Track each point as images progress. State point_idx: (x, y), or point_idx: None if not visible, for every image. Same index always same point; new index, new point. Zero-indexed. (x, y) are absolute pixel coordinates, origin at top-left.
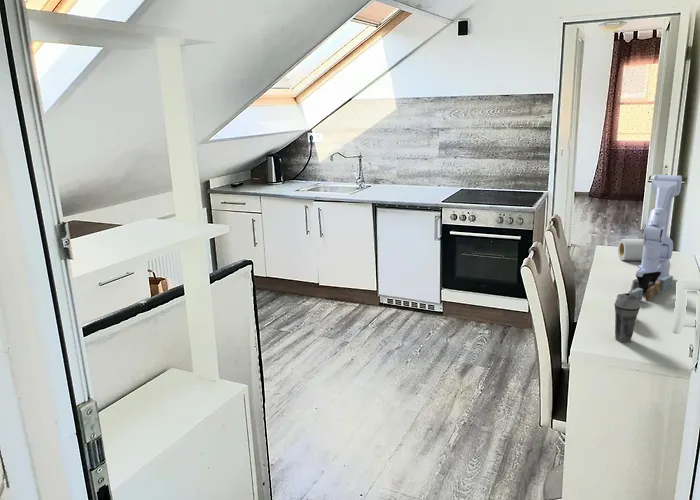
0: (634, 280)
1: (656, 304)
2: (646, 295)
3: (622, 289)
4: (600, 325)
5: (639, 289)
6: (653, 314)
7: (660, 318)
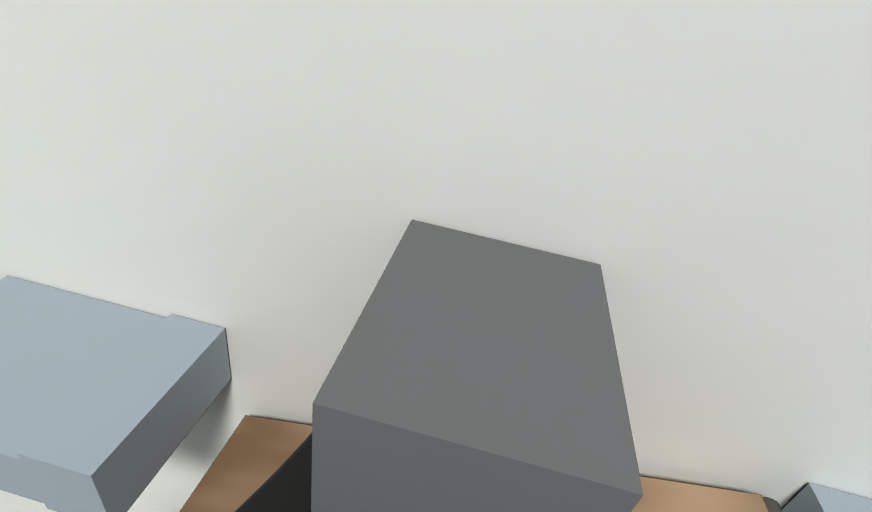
0: (349, 437)
1: None
2: (211, 472)
3: (497, 18)
4: None
5: (43, 495)
6: None
7: (23, 502)
